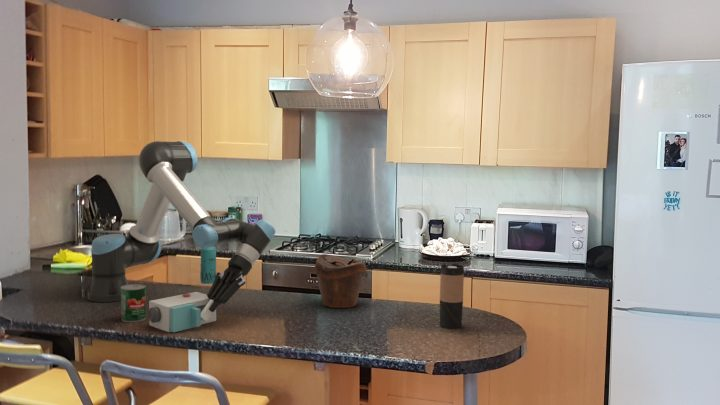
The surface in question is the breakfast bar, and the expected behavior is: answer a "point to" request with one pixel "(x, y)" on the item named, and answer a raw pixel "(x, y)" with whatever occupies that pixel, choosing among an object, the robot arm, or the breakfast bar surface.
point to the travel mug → (451, 295)
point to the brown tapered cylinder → (339, 280)
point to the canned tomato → (133, 303)
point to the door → (184, 317)
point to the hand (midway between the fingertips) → (202, 318)
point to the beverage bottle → (208, 265)
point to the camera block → (161, 307)
